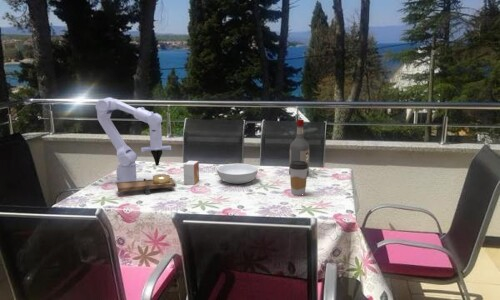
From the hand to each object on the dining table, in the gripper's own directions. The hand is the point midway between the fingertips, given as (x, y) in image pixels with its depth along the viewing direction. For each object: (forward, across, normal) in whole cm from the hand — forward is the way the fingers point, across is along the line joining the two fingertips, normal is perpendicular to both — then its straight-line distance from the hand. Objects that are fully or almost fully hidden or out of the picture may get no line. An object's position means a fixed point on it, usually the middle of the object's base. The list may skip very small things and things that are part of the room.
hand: (157, 165), depth 216 cm
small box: (+10, +16, -5) cm, 20 cm away
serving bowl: (+10, +39, -11) cm, 41 cm away
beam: (+6, -7, -11) cm, 15 cm away
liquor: (+10, +74, -11) cm, 75 cm away
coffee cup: (+10, +59, -40) cm, 72 cm away
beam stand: (+9, -7, -11) cm, 16 cm away
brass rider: (+6, 0, -12) cm, 13 cm away
